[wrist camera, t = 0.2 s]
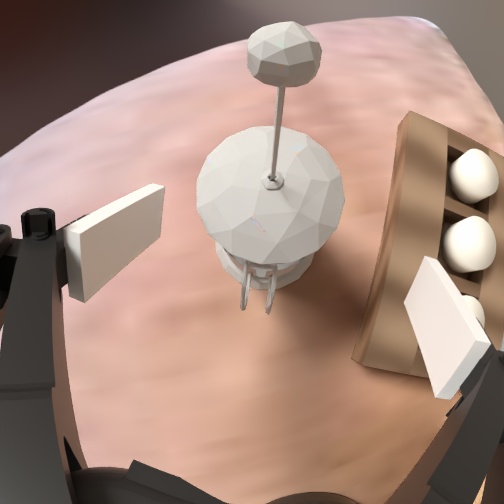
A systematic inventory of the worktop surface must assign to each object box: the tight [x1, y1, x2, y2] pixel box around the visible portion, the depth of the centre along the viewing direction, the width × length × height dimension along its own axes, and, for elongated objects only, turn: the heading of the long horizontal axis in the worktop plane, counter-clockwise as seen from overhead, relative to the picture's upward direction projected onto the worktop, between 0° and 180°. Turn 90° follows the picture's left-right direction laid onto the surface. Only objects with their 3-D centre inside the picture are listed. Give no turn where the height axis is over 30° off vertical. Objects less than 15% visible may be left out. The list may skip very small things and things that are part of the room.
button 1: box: [463, 295, 485, 329], centre depth 25 cm, size 5×5×3 cm
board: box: [351, 111, 504, 378], centre depth 28 cm, size 26×16×4 cm, turn 164°
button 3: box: [448, 149, 499, 204], centre depth 27 cm, size 5×5×3 cm
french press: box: [197, 21, 345, 315], centre depth 18 cm, size 10×12×25 cm
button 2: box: [441, 216, 496, 273], centre depth 26 cm, size 5×5×3 cm
